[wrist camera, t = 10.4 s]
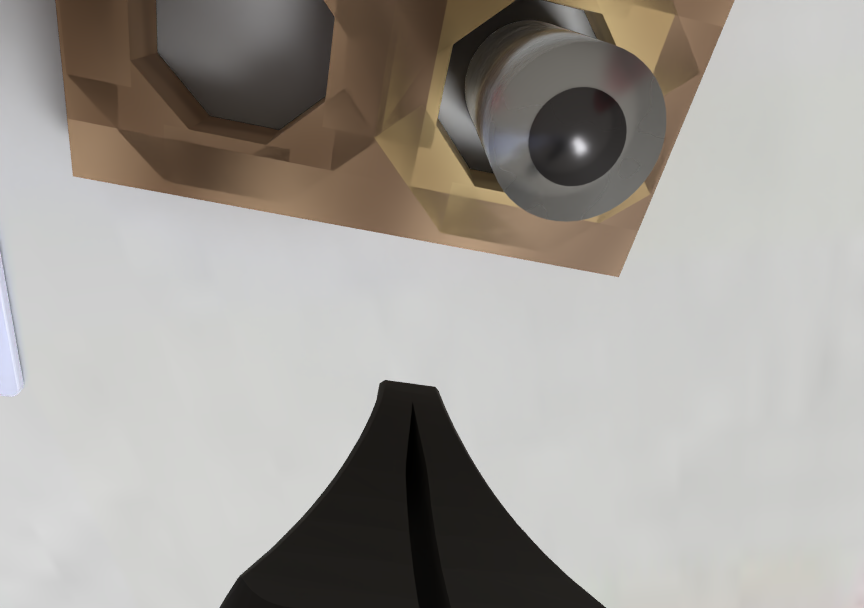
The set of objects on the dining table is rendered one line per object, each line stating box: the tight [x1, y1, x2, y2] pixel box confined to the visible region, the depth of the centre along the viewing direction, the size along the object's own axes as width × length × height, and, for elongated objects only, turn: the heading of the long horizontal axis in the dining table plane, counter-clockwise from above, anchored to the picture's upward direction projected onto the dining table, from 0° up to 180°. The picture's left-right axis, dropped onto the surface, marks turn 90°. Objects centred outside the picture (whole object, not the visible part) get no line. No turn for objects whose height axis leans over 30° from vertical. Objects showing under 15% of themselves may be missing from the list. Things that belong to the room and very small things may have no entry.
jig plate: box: [55, 0, 734, 277], centre depth 18 cm, size 18×10×2 cm, turn 78°
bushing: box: [465, 20, 666, 222], centre depth 16 cm, size 4×4×7 cm
